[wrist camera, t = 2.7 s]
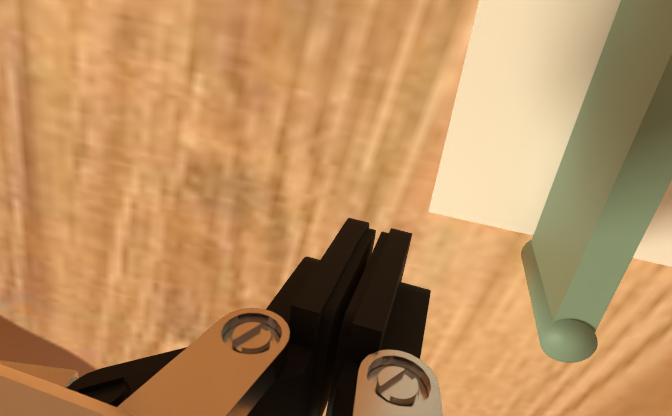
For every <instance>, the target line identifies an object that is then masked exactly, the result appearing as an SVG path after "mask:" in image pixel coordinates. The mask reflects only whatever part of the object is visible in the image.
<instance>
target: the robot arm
mask: <svg viewBox="0 0 672 416" xmlns="http://www.w3.org/2000/svg"><path fill="white" fill-rule="evenodd" d="M375 234H376V230H373V229H369V223H368V222H364V221H360V220H356V219H352V218H348V219H347V221H346V222H345V224H344V225H343V227H342V228H341V230H340V231H339V233H338V234H337V236H336V237H335V239H334V240H333V242H332V243H331V245H330V246H329V248H328V249H327V251H326V253H325V254H324V256H323V257H322V259H321V260H318V259H314V258H310V257H305V258H304V259H303V260H302V261H301V263H300V264H299V265H298V267H297V268H296V269H295V271H294V272H293V273H292V275H291V276H290V277H289V279H288V280H287V282H286V283H285V284H284V286H283V287H282V288H281V290H280V291H279V292H278V294H277V295H276V296H275V298H274V299H273V301H272V302H271V303H270V305H269V306H268V307H267V309H266V310H265V309H260V308H246V309H239V310H236V311H234V312H231V313H229V314H227V315H226V316H224V317H222V318H221V319H220V320H219V321H218V322H216V323H215V324H214V325H213V326H212V327H210V328H209V329H208V330H207V331H206V332H205V333H203V334H202V335H201V336H200V337H199V338H198V339H196V340H195V341H194V342H193V343H192V344H190V345H189V346H188V347H186V348H182V349H178V350H174V351H170V352H166V353H162V354H158V355H154V356H150V357H146V358H142V359H138V360H134V361H130V362H125V363H121V364H117V365H113V366H109V367H105V368H101V369H98V370H96V371H93V372H90V373H87V374H86V375H84V376H82V377H78V371H77V370H69V369H62V368H53V367H46V366H38V365H31V364H23V363H16V362H8V361H0V416H322V415H323V412H324V410H325V407H326V405H327V402H328V406H327V412H326V416H443V414H442V404H441V395H440V387H439V383H438V380H437V377H436V376H435V374H434V373H433V371H432V370H431V368H430V367H429V366H427V365H426V364H425V363H424V362H423V361H422V360H420V355H421V349H422V343H423V336H424V330H425V324H426V317H427V311H428V305H429V299H430V292H431V291H430V290H428V289H424V288H421V287H417V286H413V285H410V284H406V283H402V282H401V280H402V276H403V272H404V267H405V263H406V259H407V254H408V250H409V246H410V241H411V237H412V233H408V232H404V231H400V230H396V229H392V228H391V230H390V232H389V233H385V232H381V234H380V237H379V239H378V241H377V243H376V246H375V248H374V250H373V245H374V239H375ZM372 250H373V252H372ZM328 399H329V400H328Z"/></svg>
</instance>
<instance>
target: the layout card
mask: <svg viewBox="0 0 672 416" xmlns="http://www.w3.org/2000/svg"><path fill="white" fill-rule="evenodd" d="M620 1H621V0H479V3H478V7H477V11H476V16H475V20H474V24H473V28H472V32H471V37H470V41H469V45H468V49H467V53H466V57H465V62H464V66H463V70H462V74H461V78H460V82H459V87H458V91H457V95H456V99H455V103H454V107H453V112H452V116H451V120H450V124H449V128H448V133H447V137H446V141H445V145H444V149H443V153H442V158H441V162H440V166H439V170H438V174H437V178H436V183H435V187H434V191H433V195H432V199H431V203H430V208H429V212H432V213H436V214H440V215H445V216H449V217H454V218H458V219H463V220H467V221H471V222H476V223H480V224H485V225H489V226H494V227H498V228H502V229H507V230H511V231H516V232H520V233H525V234H529V235H534V232H535V230H536V227H537V224H538V222H539V219H540V216H541V214H542V211H543V208H544V206H545V203H546V200H547V197H548V195H549V192H550V189H551V187H552V184H553V181H554V179H555V176H556V173H557V171H558V168H559V165H560V163H561V160H562V157H563V154H564V152H565V149H566V146H567V144H568V141H569V138H570V136H571V133H572V130H573V128H574V125H575V122H576V120H577V117H578V114H579V112H580V109H581V106H582V103H583V101H584V98H585V95H586V93H587V90H588V87H589V85H590V82H591V79H592V77H593V74H594V71H595V69H596V66H597V63H598V61H599V58H600V55H601V52H602V50H603V47H604V44H605V42H606V39H607V36H608V34H609V31H610V28H611V26H612V23H613V20H614V18H615V15H616V12H617V9H618V7H619V4H620ZM633 258H635V259H640V260H644V261H649V262H653V263H657V264H662V265H666V266H671V267H672V181H671V183H670V185H669V187H668V189H667V191H666V192H665V194H664V196H663V198H662V200H661V202H660V204H659V206H658V208H657V210H656V212H655V214H654V216H653V218H652V220H651V222H650V224H649V226H648V228H647V230H646V232H645V234H644V236H643V238H642V240H641V242H640V244H639V246H638V248H637V250H636V252H635V254H634V256H633Z"/></svg>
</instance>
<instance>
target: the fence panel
mask: <svg viewBox="0 0 672 416" xmlns="http://www.w3.org/2000/svg"><path fill="white" fill-rule="evenodd" d="M671 181H672V0H621V1H620V4H619V7H618V9H617V12H616V15H615V18H614V20H613V23H612V26H611V28H610V31H609V34H608V36H607V39H606V42H605V44H604V47H603V50H602V52H601V55H600V58H599V61H598V63H597V66H596V69H595V71H594V74H593V77H592V79H591V82H590V85H589V87H588V90H587V93H586V95H585V98H584V101H583V103H582V106H581V109H580V112H579V114H578V117H577V120H576V122H575V125H574V128H573V130H572V133H571V136H570V138H569V141H568V144H567V146H566V149H565V152H564V154H563V157H562V160H561V163H560V165H559V168H558V171H557V173H556V176H555V179H554V181H553V184H552V187H551V189H550V192H549V195H548V197H547V200H546V203H545V206H544V208H543V211H542V214H541V216H540V219H539V222H538V224H537V227H536V230H535V232H534V235H533V238H532V240H530V241H529V242H527V243H526V244H525V245H524V247H523V249H522V252H521V257H522V261H523V266H524V271H525V275H526V280H527V284H528V289H529V294H530V298H531V303H532V308H533V312H534V317H535V322H536V326H537V331H538V336H539V340H540V345H541V348H542V350H543V351H544V352H545V353H546V354H547V355H548V356H549V357H551V358H552V359H555V360H557V361H560V362H566V363H573V362H579V361H582V360H585V359H587V358H589V357H590V356H591V355H592V354H593V353H594V352H595V350H596V348H597V337H596V335H595V331H596V329H597V327H598V325H599V323H600V321H601V319H602V317H603V315H604V313H605V311H606V309H607V307H608V305H609V303H610V301H611V299H612V297H613V295H614V293H615V291H616V289H617V288H618V286H619V284H620V282H621V280H622V278H623V276H624V274H625V272H626V270H627V268H628V266H629V264H630V262H631V260H632V258H633V256H634V254H635V252H636V250H637V248H638V246H639V244H640V242H641V240H642V238H643V236H644V234H645V232H646V230H647V228H648V226H649V224H650V222H651V220H652V218H653V216H654V214H655V212H656V210H657V208H658V206H659V204H660V202H661V200H662V198H663V196H664V194H665V192H666V191H667V189H668V187H669V185H670V183H671Z"/></svg>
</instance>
